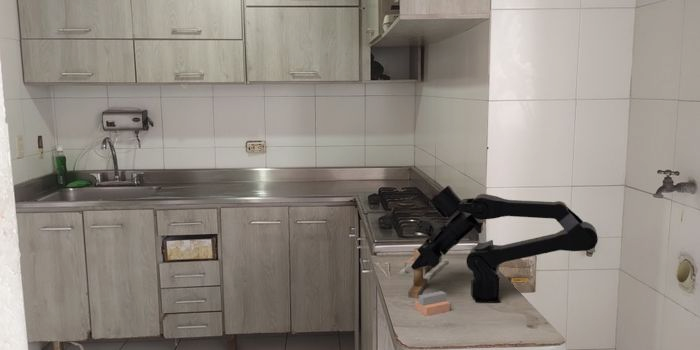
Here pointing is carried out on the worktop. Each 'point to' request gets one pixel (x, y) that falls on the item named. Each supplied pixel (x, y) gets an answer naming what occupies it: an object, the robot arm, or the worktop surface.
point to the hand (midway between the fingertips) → (413, 266)
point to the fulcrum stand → (432, 303)
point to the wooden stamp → (417, 280)
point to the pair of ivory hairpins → (382, 269)
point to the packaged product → (427, 270)
